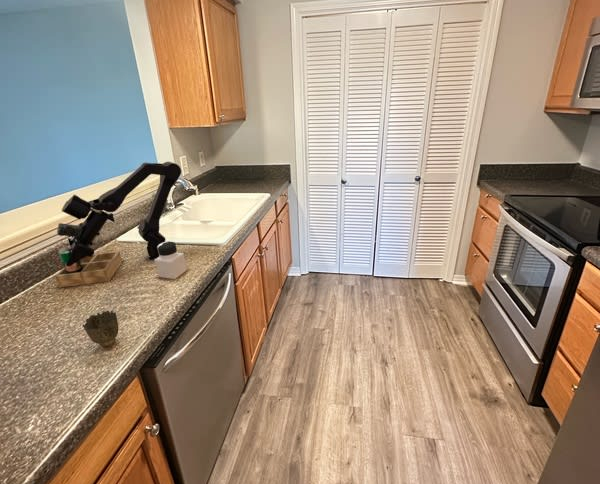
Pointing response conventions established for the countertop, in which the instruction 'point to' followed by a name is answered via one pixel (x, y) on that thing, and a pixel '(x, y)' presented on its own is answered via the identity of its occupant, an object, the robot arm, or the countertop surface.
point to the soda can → (64, 256)
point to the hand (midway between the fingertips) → (66, 263)
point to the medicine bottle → (169, 261)
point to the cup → (102, 328)
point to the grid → (92, 270)
